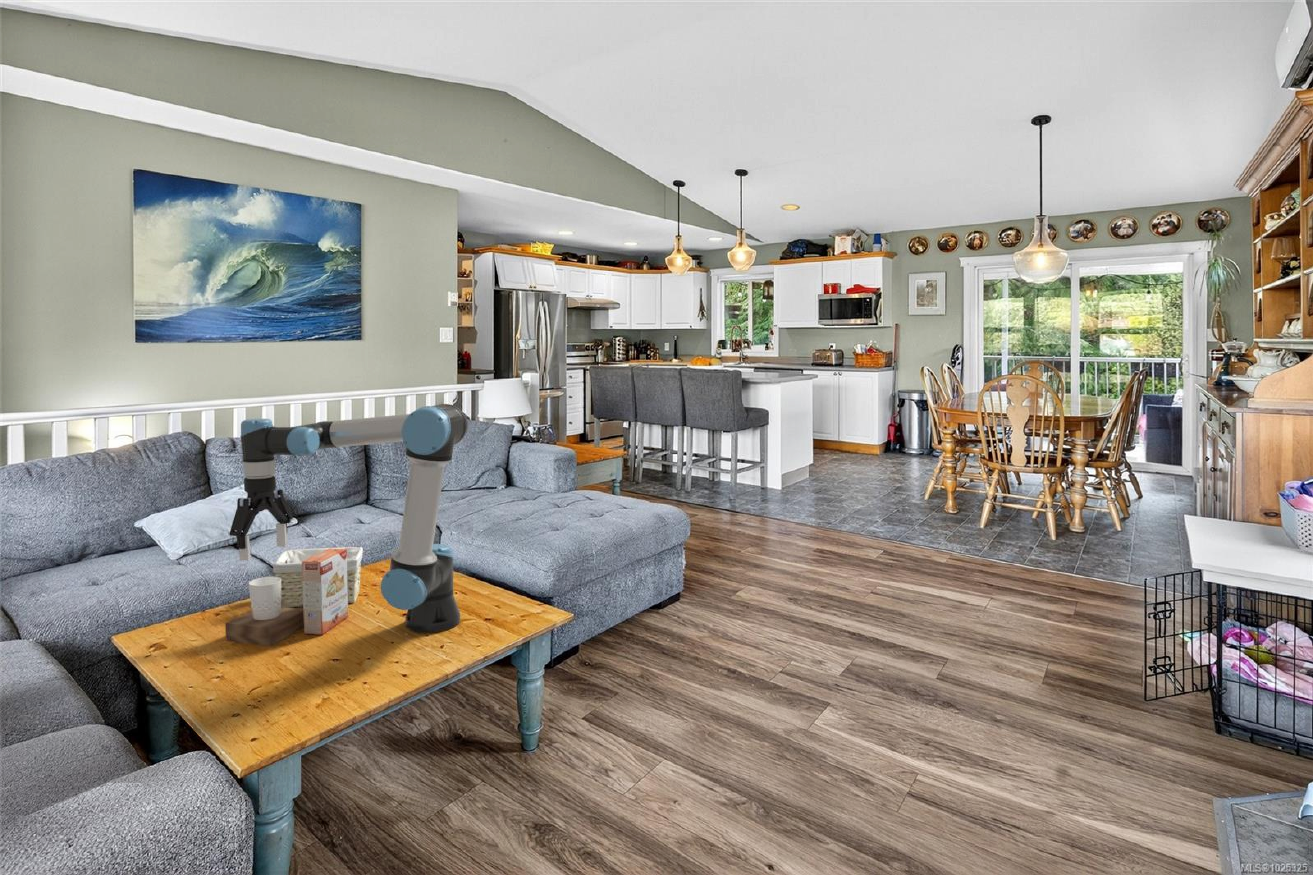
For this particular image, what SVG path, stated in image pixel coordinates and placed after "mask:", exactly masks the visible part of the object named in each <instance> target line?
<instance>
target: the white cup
mask: <svg viewBox="0 0 1313 875" xmlns="http://www.w3.org/2000/svg"><path fill="white" fill-rule="evenodd" d="M248 590H249V598H250V599H249V600H250V606H251V611H252V614H253V618H254V619H255V620H269V619H273V618H276V617H278V616H280V614H281V578H279V577H276V576H264V577H263V576H262V577H258V578H253V579H252V580H250V581H249V582H248Z"/></svg>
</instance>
